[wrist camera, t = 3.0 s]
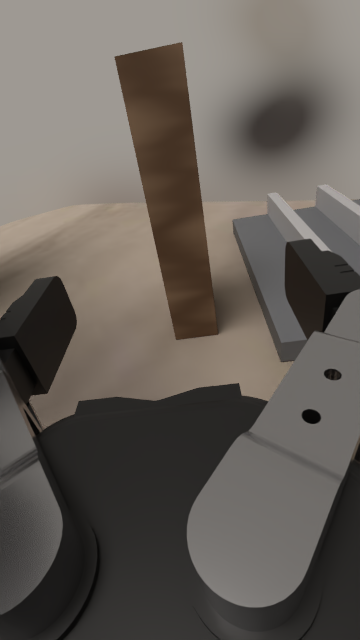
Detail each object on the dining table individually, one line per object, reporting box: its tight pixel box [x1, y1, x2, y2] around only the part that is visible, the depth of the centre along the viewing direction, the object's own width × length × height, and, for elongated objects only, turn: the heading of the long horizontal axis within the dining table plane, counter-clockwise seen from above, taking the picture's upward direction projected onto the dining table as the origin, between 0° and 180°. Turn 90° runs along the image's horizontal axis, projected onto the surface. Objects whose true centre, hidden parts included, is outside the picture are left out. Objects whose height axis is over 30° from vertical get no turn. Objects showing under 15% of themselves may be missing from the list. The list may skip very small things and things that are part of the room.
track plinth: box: [233, 184, 360, 362], centre depth 27 cm, size 14×22×4 cm, turn 0°
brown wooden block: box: [115, 42, 218, 340], centre depth 21 cm, size 3×5×16 cm, turn 0°
